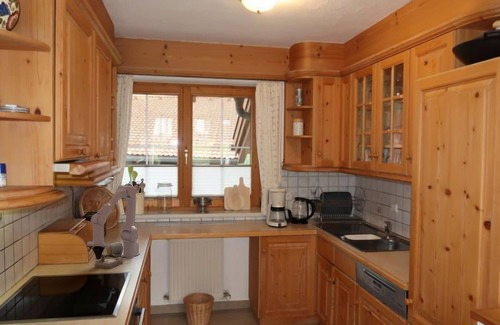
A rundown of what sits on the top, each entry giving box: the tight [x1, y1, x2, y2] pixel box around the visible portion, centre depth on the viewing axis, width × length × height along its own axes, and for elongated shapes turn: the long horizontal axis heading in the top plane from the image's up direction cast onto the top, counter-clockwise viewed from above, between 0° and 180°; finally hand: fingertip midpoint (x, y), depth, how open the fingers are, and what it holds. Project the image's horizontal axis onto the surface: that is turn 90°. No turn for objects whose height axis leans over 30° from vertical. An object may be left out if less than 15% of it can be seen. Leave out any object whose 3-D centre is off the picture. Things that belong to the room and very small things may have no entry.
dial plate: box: [94, 256, 123, 270], centre depth 215 cm, size 10×11×3 cm
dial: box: [100, 253, 116, 263], centre depth 215 cm, size 8×8×5 cm
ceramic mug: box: [105, 241, 123, 258], centre depth 236 cm, size 11×8×8 cm
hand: (98, 259), depth 214 cm, fingers closed
